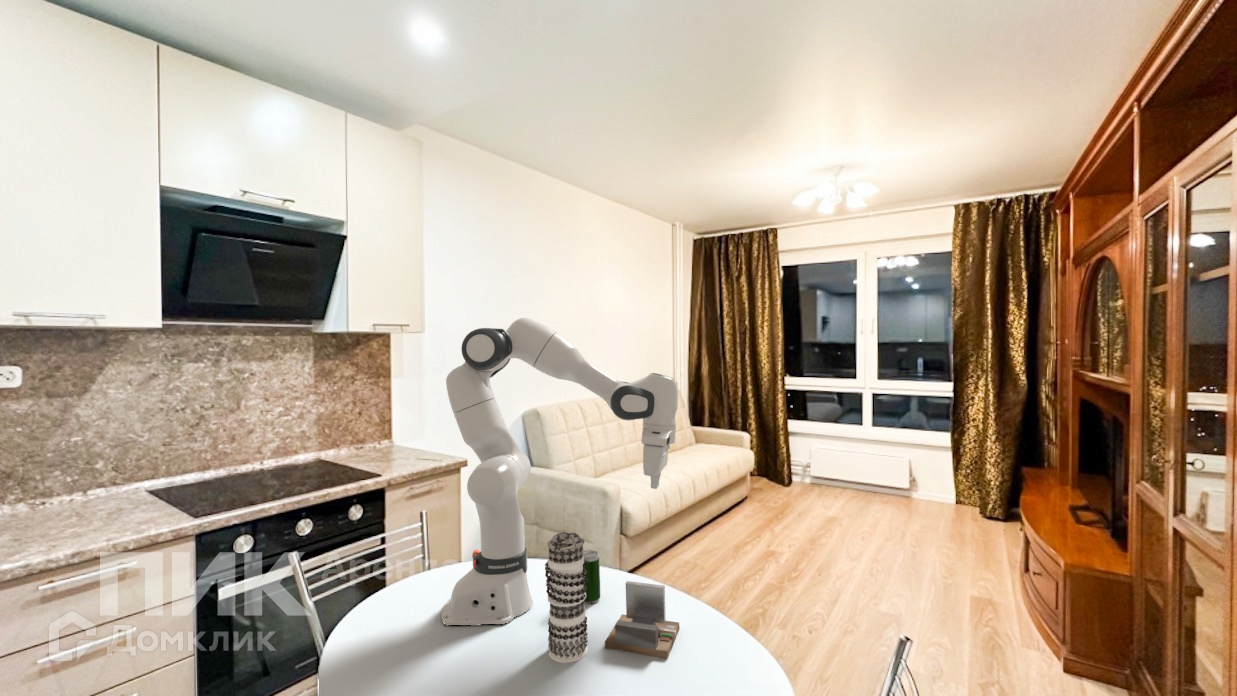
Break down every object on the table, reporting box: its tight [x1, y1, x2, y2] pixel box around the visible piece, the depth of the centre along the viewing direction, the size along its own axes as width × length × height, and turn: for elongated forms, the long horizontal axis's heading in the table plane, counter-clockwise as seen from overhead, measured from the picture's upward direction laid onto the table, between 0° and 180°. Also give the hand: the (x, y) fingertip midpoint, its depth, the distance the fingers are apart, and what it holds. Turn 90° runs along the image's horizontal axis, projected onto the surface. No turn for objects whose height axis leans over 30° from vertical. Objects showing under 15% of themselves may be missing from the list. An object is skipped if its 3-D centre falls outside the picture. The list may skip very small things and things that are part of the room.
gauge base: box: [604, 614, 680, 660], centre depth 116 cm, size 12×14×6 cm
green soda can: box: [583, 549, 601, 605], centre depth 135 cm, size 5×5×12 cm
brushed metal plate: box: [625, 580, 676, 635], centre depth 116 cm, size 5×12×9 cm, turn 71°
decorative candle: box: [544, 531, 589, 664], centre depth 112 cm, size 9×9×25 cm
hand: (654, 487), depth 136 cm, fingers closed
